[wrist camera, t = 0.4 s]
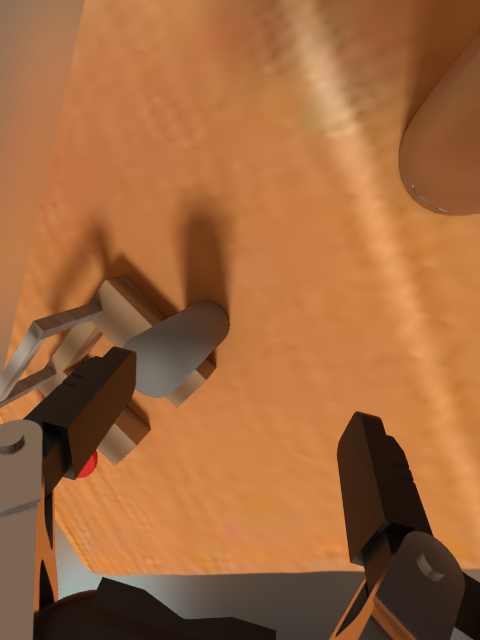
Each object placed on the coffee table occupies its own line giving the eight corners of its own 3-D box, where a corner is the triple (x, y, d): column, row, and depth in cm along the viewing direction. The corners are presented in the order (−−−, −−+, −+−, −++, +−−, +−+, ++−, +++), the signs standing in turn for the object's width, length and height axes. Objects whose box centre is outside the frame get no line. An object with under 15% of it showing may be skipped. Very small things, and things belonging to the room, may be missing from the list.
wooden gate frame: (124, 275, 33) (44, 292, 23) (216, 367, 33) (172, 421, 24) (53, 373, 40) (-30, 416, 30) (129, 449, 40) (69, 516, 30)
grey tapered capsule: (205, 290, 31) (144, 320, 21) (238, 324, 31) (194, 371, 21) (177, 321, 33) (109, 363, 22) (209, 353, 33) (155, 409, 22)
